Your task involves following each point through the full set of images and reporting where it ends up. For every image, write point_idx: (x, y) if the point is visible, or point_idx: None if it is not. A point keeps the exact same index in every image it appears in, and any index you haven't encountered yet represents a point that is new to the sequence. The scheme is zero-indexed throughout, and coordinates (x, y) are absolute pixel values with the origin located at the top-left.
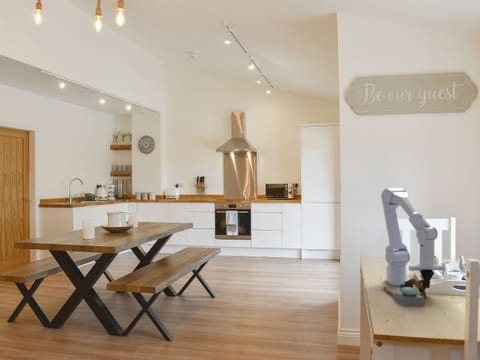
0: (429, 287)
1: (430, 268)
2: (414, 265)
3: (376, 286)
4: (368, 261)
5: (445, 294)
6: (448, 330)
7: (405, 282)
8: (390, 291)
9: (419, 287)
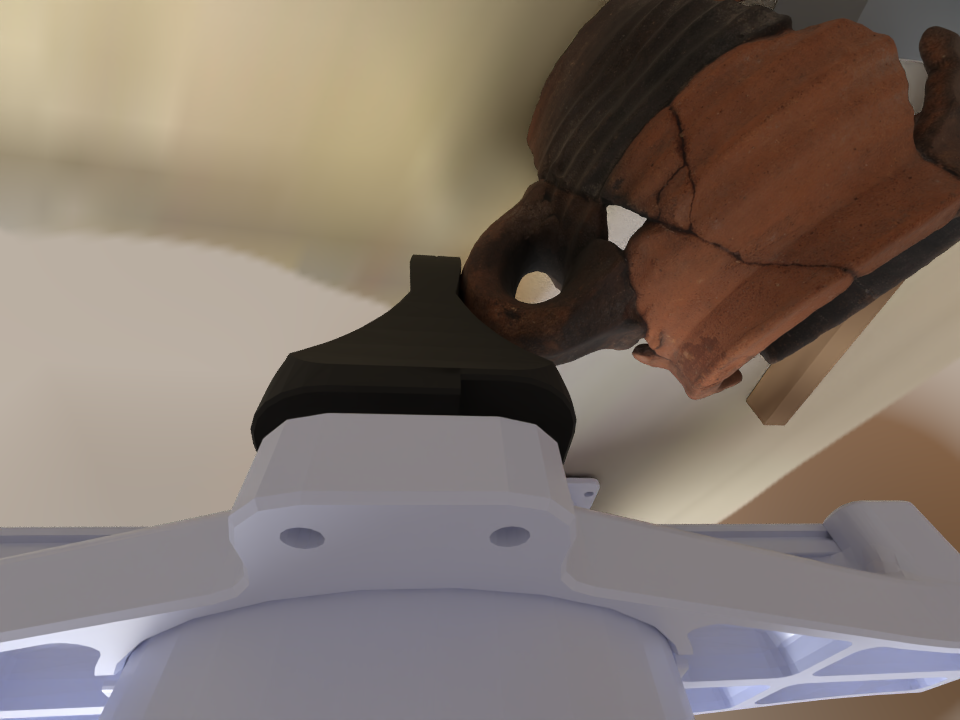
0: (412, 256)
1: (499, 462)
2: (748, 694)
3: (725, 475)
4: None
5: (189, 208)
6: None
7: (735, 373)
8: (899, 285)
9: (824, 24)
